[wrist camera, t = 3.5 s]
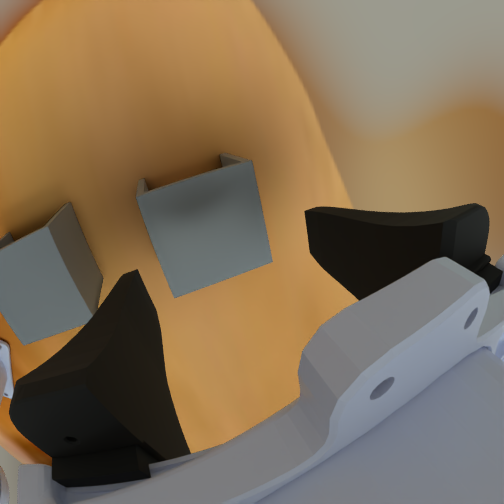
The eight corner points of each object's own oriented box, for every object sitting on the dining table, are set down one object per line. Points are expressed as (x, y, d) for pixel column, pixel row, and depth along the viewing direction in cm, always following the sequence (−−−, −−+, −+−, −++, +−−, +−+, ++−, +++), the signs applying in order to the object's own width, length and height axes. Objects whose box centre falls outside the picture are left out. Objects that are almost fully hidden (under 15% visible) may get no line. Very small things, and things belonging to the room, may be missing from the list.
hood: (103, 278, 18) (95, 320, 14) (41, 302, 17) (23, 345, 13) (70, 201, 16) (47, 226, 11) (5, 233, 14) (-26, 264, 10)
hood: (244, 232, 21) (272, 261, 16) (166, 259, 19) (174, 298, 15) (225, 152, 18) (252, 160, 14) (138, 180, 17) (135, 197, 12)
